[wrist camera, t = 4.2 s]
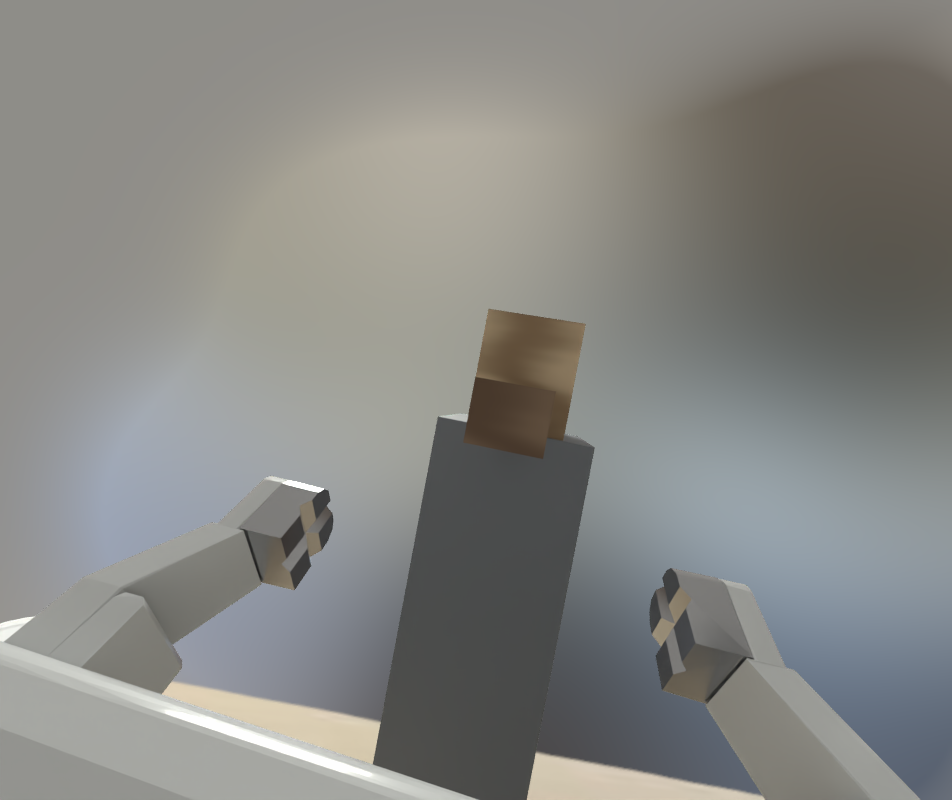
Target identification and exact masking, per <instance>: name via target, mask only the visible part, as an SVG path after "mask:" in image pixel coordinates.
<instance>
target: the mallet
mask: <svg viewBox="0 0 952 800" xmlns="http://www.w3.org/2000/svg"><path fill="white" fill-rule="evenodd" d="M584 330H585V324H583V323H576V322H570V321H564V320H557V319H551V318H544V317H538V316H531V315H525V314H519V313H512V312H505V311H499V310H492V309H489V310H488V315H487V320H486V325H485V331H484V336H483V342H482V347H481V352H480V357H479V363H478V368H477V373H476V377H475V382H474V388H473V393H472V398H471V403H470V409H469V414H468V419H467V424H466V430H465V435H464V440H463V443H468V444H473V445H477V446H482V447H487V448H492V449H497V450H501V451H506V452H511V453H516V454H521V455H525V456H530V457H535V458H540V459H543V457H544V451H545V446H546V441H547V438H552V439H557V440H562V441H563V439H564V434H565V429H566V423H567V418H568V413H569V408H570V402H571V398H572V392H573V387H574V382H575V376H576V371H577V366H578V361H579V356H580V350H581V346H582V340H583V335H584Z"/></svg>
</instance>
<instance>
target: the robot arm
mask: <svg viewBox="0 0 952 800" xmlns="http://www.w3.org/2000/svg"><path fill="white" fill-rule="evenodd" d="M329 502H330V496H329V491H328V490H325V489H321V488H317V487H313V486H309V485H306V484H302V483H298V482H294V481H290V480H286V479H282V478H278V477H274V476H270V477H267V478H265V479H263V480H262V481H261V482H260V483H259V484H258V485H257V486H256V487H255V488H254V489H253V490H252V491H251V492H250V493H249V494H248V495H247V496H246V497H245V498H244V499H243V500H241V501H240V502H239V503H238V504H237V505H236V506H235V507H234V508H233V509H232V510H231V511H230V512H229V513H228V514H227V515H226V516H225V517H224V518H223V519H222V520H221V521H220V522H219V523H218V524H217V523H213V522H212V523H209V524H207V525H204V526H202V527H200V528H197V529H195V530H193V531H191V532H188V533H186V534H183V535H181V536H179V537H176V538H174V539H172V540H169V541H167V542H165V543H162V544H160V545H158V546H155V547H153V548H151V549H148V550H146V551H144V552H141V553H139V554H137V555H134V556H132V557H129V558H127V559H125V560H123V561H120V562H118V563H115V564H113V565H111V566H108V567H106V568H104V569H101V570H99V571H97V572H94V573H92V574H90V575H87V576H85V577H83V578H82V579H81V580H79V581H78V582H77V583H76V584H74V585H73V586H72V587H71V588H70V589H68V590H67V591H66V592H65V593H63V594H62V595H61V596H60V597H59V598H57V599H56V600H55V601H53V602H52V603H51V604H50V605H48V607H46V608H45V609H44V610H42V611H41V612H40V613H39V614H37V615H36V616H35V617H34V618H32V619H31V620H30V621H29V622H27V623H26V624H25V625H24V626H23V627H21V628H20V629H19V630H18V631H16V632H15V633H14V634H13V635H11V636H10V637H9V638H8V639H6V640H5V641H4V642H2V641H0V800H478V799H475V798H472V797H469V796H466V795H463V794H460V793H457V792H454V791H451V790H448V789H445V788H442V787H439V786H436V785H433V784H430V783H427V782H424V781H421V780H418V779H415V778H412V777H409V776H406V775H403V774H400V773H397V772H394V771H391V770H388V769H385V768H382V767H379V766H376V765H373V764H370V763H367V762H364V761H361V760H358V759H355V758H352V757H349V756H346V755H343V754H340V753H337V752H334V751H331V750H328V749H325V748H321V747H318V746H315V745H312V744H309V743H306V742H303V741H300V740H297V739H294V738H291V737H288V736H285V735H282V734H279V733H276V732H273V731H270V730H267V729H264V728H261V727H258V726H255V725H252V724H249V723H246V722H243V721H240V720H237V719H234V718H231V717H228V716H225V715H222V714H219V713H216V712H213V711H210V710H207V709H204V708H201V707H198V706H195V705H192V704H189V703H186V702H183V701H180V700H177V699H174V698H171V697H168V696H165V695H162V693H163V692H164V690H165V689H166V688H167V686H168V685H169V684H170V683H171V681H172V680H173V679H174V677H175V676H176V675H177V674H178V672H179V671H180V670H181V668H182V660H181V658H180V656H179V655H178V653H177V651H176V650H175V648H174V646H173V645H172V644H174V643H175V642H177V641H178V640H180V639H181V638H183V637H184V636H186V635H187V634H189V633H190V632H192V631H193V630H195V629H196V628H198V627H199V626H200V625H202V624H203V623H205V622H207V621H208V620H209V619H211V618H212V617H214V616H215V615H217V614H218V613H220V612H221V611H223V610H224V609H226V608H227V607H229V606H230V605H232V604H233V603H235V602H236V601H238V600H239V599H240V598H242V597H244V596H245V595H246V594H248V593H250V592H251V591H252V590H254V589H255V588H257V587H258V586H260V585H261V582H262V583H267V584H271V585H276V586H279V587H283V588H288V589H292V590H295V589H296V587H297V586H298V584H299V583H300V581H301V580H302V578H303V577H304V576H305V574H306V572H307V571H308V569H309V568H310V567H311V556H312V555H314V554H316V553H318V552H319V551H321V550H322V549H323V547H324V546H325V544H326V543H327V541H328V539H329V536H330V533H331V531H332V527H333V515H332V512H331V511H330V510H329V509H328V507H327V504H328V503H329ZM663 583H664V587H662V588H660V589H658V590H656V591H655V593H654V595H653V597H652V599H651V605H650V626H651V632H652V635H653V636H654V638H655V639H656V640H657V642H658V643H659V644H660V646H661V648H660V650H659V651H658V653H657V655H656V660H657V665H658V671H659V676H660V681H661V686H662V690H663V691H666V692H669V693H673V694H676V695H680V696H682V697H686V698H689V699H692V700H696V701H699V702H702V703H706V708H707V709H708V711H709V712H710V714H711V715H712V717H713V718H714V720H715V721H716V723H717V725H718V726H719V728H720V729H721V731H722V733H723V734H724V736H725V737H726V739H727V740H728V742H729V743H730V745H731V746H732V748H733V750H734V751H735V753H736V754H737V756H738V758H739V759H740V761H741V762H742V764H743V765H744V766H745V768H746V770H747V772H748V773H749V775H750V776H751V778H752V779H753V781H754V783H755V784H756V786H757V787H758V789H759V790H760V792H761V793H762V795H763V797H764V798H765V800H920V799H919V798H918V797H917V796H916V795H915V794H914V792H913V791H912V790H911V789H910V788H909V787H908V786H907V785H906V784H905V783H904V782H903V781H902V780H901V779H900V778H899V777H898V776H897V775H896V774H895V773H894V772H893V771H892V770H891V769H890V768H889V767H888V766H887V765H886V764H885V763H884V762H883V761H882V760H881V759H880V758H879V757H878V756H877V755H876V754H875V752H874V751H873V750H872V749H871V748H870V747H869V746H868V745H867V744H866V743H865V742H864V741H863V740H862V739H861V738H860V737H859V736H858V735H857V734H856V733H855V732H854V731H853V730H852V729H851V728H850V727H849V726H848V725H847V724H846V723H845V722H844V721H843V720H842V719H841V718H840V716H839V715H837V713H836V712H835V711H834V710H833V709H832V708H831V707H830V706H829V705H828V704H827V703H826V702H825V701H824V700H823V699H822V698H821V697H820V696H819V695H818V694H817V693H816V692H815V691H814V690H813V689H812V688H811V687H810V686H809V685H808V684H807V683H806V682H805V680H803V678H802V677H801V676H800V675H799V674H798V673H797V672H796V671H794V670H792V669H788V668H786V667H785V664H784V662H783V660H782V658H781V656H780V654H779V651H778V649H777V647H776V644H775V642H774V640H773V638H772V636H771V633H770V631H769V629H768V627H767V625H766V622H765V620H764V618H763V616H762V613H761V611H760V609H759V607H758V605H757V603H756V600H755V598H754V596H753V594H752V591H751V590H750V589H749V588H748V587H747V585H744V584H739V583H735V582H731V581H726V580H722V579H718V578H714V577H710V576H705V575H701V574H696V573H691V572H687V571H682V570H677V569H673V568H670V569H669V570H667V571H666V573H665V574H664V576H663Z"/></svg>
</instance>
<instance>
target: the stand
mask: <svg viewBox="0 0 952 800" xmlns="http://www.w3.org/2000/svg"><path fill="white" fill-rule="evenodd" d="M467 419H468V415H466V414H462V413H461V414H454V415H445V416H438V420H437V425H436V431H435V436H434V441H433V447H432V452H431V457H430V463H429V468H428V473H427V478H426V484H425V489H424V495H423V500H422V505H421V511H420V516H419V521H418V527H417V532H416V537H415V542H414V548H413V553H412V559H411V564H410V570H409V574H408V580H407V586H406V590H405V596H404V602H403V606H402V612H401V617H400V622H399V628H398V634H397V639H396V644H395V649H394V655H393V660H392V665H391V670H390V676H389V682H388V687H387V692H386V698H385V703H384V708H383V714H382V719H381V724H380V729H379V735H378V740H377V745H376V751H375V756H374V761H373V765H376V766H379V767H382V768H385V769H388V770H391V771H394V772H397V773H400V774H403V775H406V776H409V777H412V778H415V779H418V780H421V781H424V782H427V783H430V784H433V785H436V786H439V787H442V788H445V789H448V790H451V791H454V792H457V793H460V794H463V795H466V796H469V797H472V798H475V799H478V800H527V795H528V790H529V784H530V779H531V774H532V769H533V764H534V759H535V753H536V748H537V743H538V738H539V733H540V727H541V722H542V717H543V712H544V707H545V702H546V696H547V691H548V686H549V681H550V676H551V671H552V665H553V660H554V655H555V650H556V645H557V639H558V634H559V629H560V624H561V619H562V614H563V608H564V603H565V598H566V593H567V588H568V583H569V577H570V572H571V567H572V562H573V557H574V552H575V547H576V541H577V536H578V531H579V526H580V521H581V516H582V510H583V505H584V500H585V495H586V490H587V485H588V479H589V474H590V469H591V464H592V459H593V454H594V447H593V446H591V445H590V444H588V443H587V442H585V441H584V440H582V439H581V438H579V437H578V436H573V435H568V434H564V439H563V441H562V440H557V439H552V438H547V441H546V446H545V451H544V457H543V459H540V458H535V457H530V456H525V455H521V454H516V453H511V452H506V451H501V450H497V449H492V448H487V447H482V446H477V445H473V444H468V443H463V440H464V435H465V430H466V424H467Z"/></svg>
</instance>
